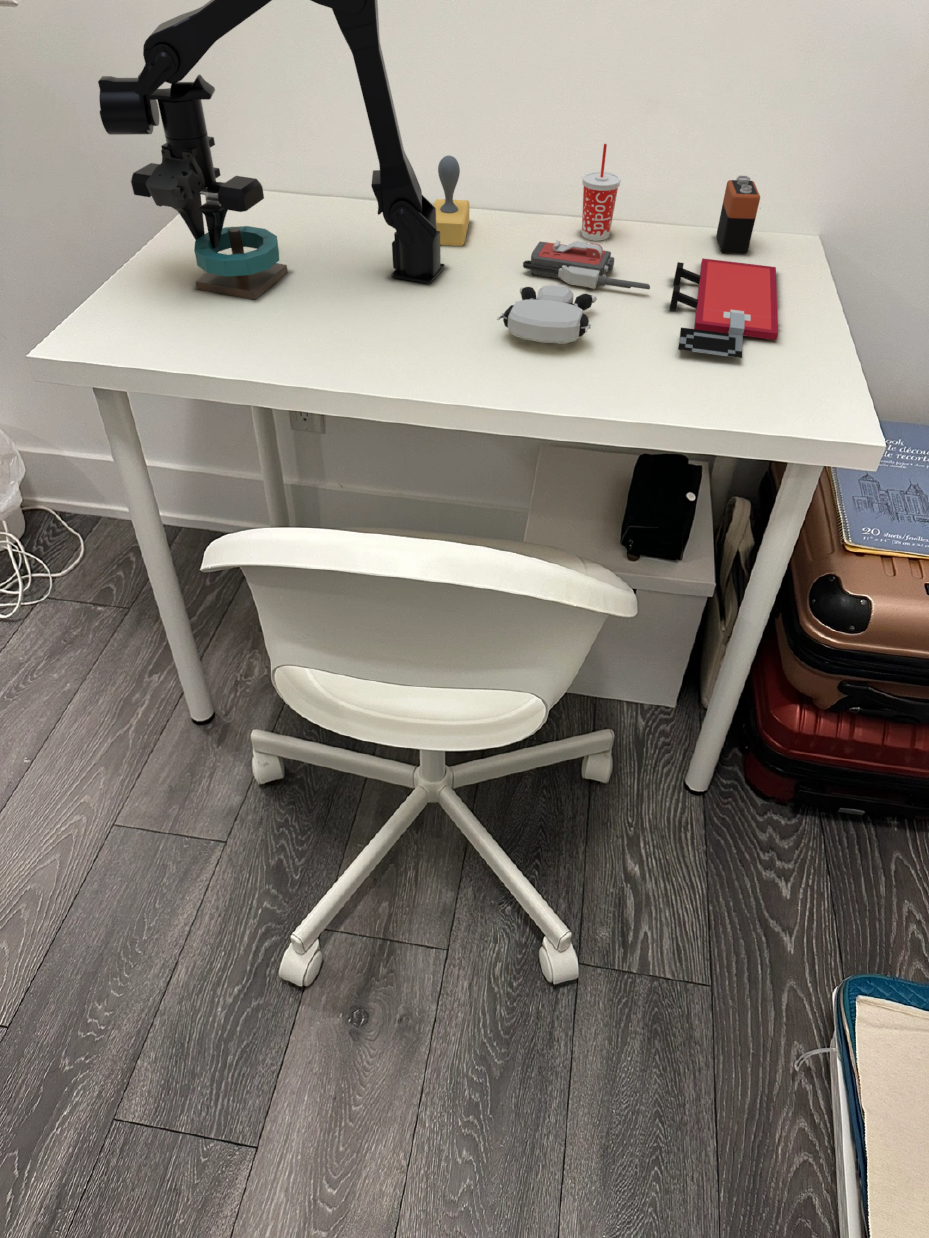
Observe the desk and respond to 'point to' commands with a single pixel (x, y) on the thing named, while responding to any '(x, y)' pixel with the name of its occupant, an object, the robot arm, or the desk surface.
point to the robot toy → (548, 315)
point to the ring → (238, 263)
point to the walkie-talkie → (576, 264)
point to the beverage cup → (599, 202)
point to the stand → (243, 284)
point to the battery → (738, 215)
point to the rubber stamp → (451, 206)
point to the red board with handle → (728, 306)
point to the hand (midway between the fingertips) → (208, 246)
